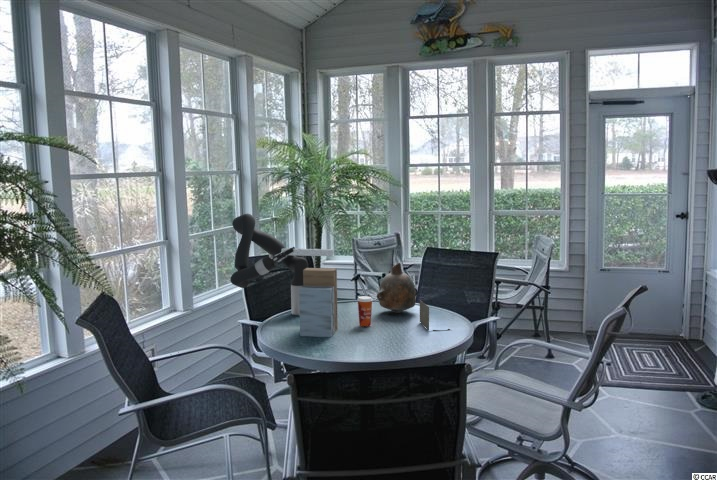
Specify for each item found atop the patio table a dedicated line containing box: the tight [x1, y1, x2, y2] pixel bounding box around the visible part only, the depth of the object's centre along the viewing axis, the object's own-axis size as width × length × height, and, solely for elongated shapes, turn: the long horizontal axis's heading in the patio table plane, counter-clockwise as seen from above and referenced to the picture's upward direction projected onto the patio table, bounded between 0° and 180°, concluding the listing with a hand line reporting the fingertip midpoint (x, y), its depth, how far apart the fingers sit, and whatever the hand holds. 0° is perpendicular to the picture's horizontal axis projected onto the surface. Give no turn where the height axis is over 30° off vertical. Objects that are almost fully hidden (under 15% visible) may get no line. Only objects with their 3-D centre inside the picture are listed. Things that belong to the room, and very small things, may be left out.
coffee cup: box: [356, 295, 373, 327], centre depth 304 cm, size 8×8×15 cm
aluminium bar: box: [281, 247, 334, 257], centre depth 287 cm, size 4×26×3 cm, turn 80°
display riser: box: [299, 267, 339, 338], centre depth 290 cm, size 15×16×32 cm
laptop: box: [419, 299, 430, 331], centre depth 301 cm, size 18×12×13 cm
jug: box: [376, 262, 418, 314], centre depth 330 cm, size 24×21×30 cm
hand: (293, 248), depth 288 cm, fingers closed on aluminium bar, 3 cm apart
